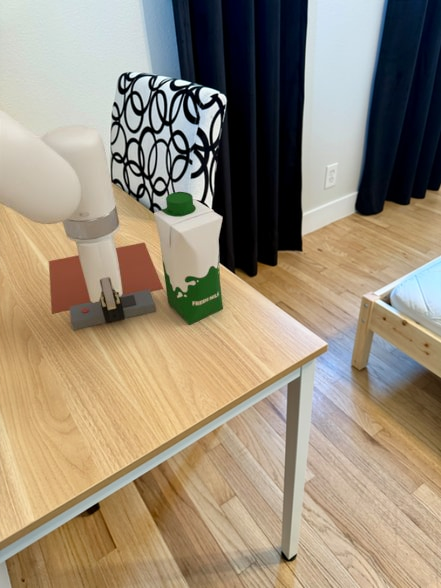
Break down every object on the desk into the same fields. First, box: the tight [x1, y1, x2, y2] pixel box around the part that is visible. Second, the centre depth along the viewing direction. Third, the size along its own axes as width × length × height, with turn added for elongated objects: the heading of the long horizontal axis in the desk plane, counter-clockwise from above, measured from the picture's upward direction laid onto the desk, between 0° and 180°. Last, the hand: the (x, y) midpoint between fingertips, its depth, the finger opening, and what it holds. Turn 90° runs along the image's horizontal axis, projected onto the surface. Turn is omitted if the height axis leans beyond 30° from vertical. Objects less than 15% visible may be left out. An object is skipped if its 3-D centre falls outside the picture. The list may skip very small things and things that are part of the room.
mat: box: [48, 242, 164, 315], centre depth 84 cm, size 20×18×1 cm
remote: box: [69, 289, 157, 331], centre depth 74 cm, size 14×4×2 cm, turn 108°
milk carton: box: [153, 191, 224, 326], centre depth 69 cm, size 9×9×20 cm
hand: (115, 318), depth 71 cm, fingers closed
